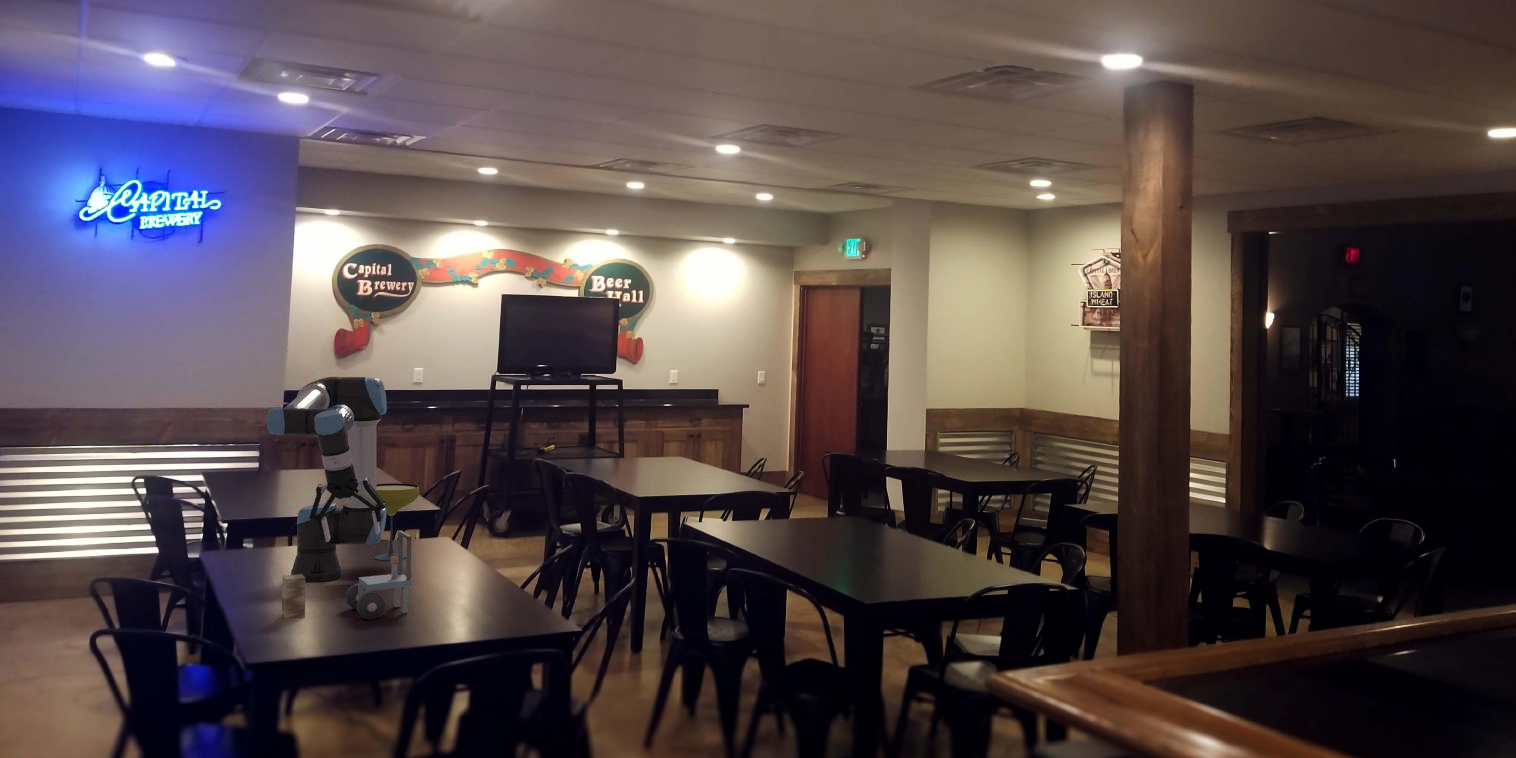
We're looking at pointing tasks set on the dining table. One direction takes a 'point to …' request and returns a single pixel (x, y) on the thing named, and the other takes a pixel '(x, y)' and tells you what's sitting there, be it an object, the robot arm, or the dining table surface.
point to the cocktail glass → (395, 505)
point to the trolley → (383, 586)
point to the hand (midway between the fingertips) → (353, 536)
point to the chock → (293, 596)
